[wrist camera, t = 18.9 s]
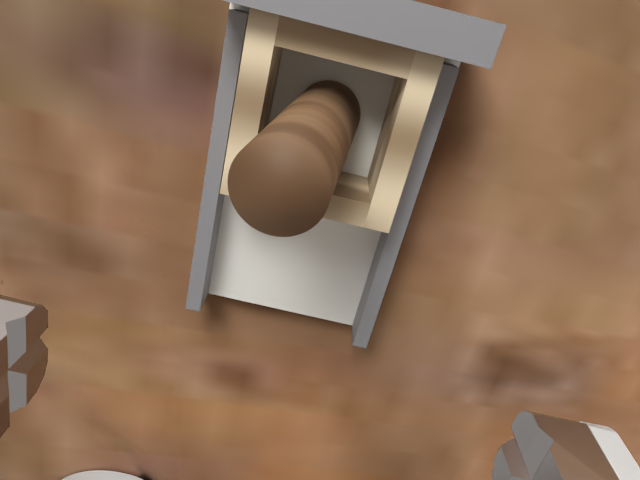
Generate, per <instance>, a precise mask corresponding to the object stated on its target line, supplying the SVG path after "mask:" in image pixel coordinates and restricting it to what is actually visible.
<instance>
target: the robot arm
mask: <svg viewBox="0 0 640 480" xmlns="http://www.w3.org/2000/svg"><path fill="white" fill-rule="evenodd" d="M47 328H48V310H47V309H46V308H45V307H44V306H43V305H40V304H36V303H32V302H28V301H24V300H19V299H15V298H11V297H7V296H3V295H0V438H1V436H2V435H3V434H4V433H5V431H6V430H7V429H8V428H9V426H10V412H13V411H15V410H17V409H19V408H21V407H24V406H26V405H27V404H28V403H29V401H30V400H31V399H32V397H33V396H34V395H35V393H36V392H37V390H38V388H39V386H40V384H41V382H42V379H43V377H44V375H45V371H46V366H47V362H48V348H47V347H46V346H45V344H44V343H43V341H42V340H41V339H40V336H41V335H42V333H43V332H44V331H45V330H46V329H47ZM511 429H512V432H513V435H514V438H513V439H511V440H510V441H508V442H506V443H504V444H503V445H501V447H500V449H499V451H498V453H497V455H496V457H495V459H494V466H493V474H492V479H493V480H640V468H639V466H638V465H637V463H636V462H635V460H634V458H633V457H632V455H631V454H630V452H629V451H628V449H627V448H626V446H625V445H624V443H623V441H622V440H621V438H620V437H619V435H618V434H617V433H616V432H615V431H614V430H612V429H611V428H610V427H608V426H603V425H597V424H592V423H587V422H582V421H580V422H577V421H572V420H568V419H563V418H558V417H553V416H549V415H544V414H539V413H535V412H530V411H525V410H523V411H522V412H521V413H520V414H518V415H517V416H516V418H515V420H514V422H513V424H512V426H511ZM62 480H143V479H141V478H138V477H136V476H133V475H129V474H125V473H121V472H115V471H105V470H94V471H85V472H80V473H76V474H73V475H70V476H68V477H65V478H63V479H62Z"/></svg>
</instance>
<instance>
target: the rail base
mask: <svg viewBox="0 0 640 480" xmlns="http://www.w3.org/2000/svg"><path fill="white" fill-rule="evenodd" d="M223 1H227V2H230V7H229V14H228V21H227V28H226V34H225V41H224V48H223V55H222V62H221V69H220V76H219V82H218V89H217V96H216V103H215V110H214V117H213V124H212V130H211V137H210V144H209V151H208V158H207V165H206V171H205V178H204V185H203V192H202V199H201V206H200V213H199V219H198V226H197V233H196V240H195V247H194V254H193V260H192V267H191V274H190V281H189V288H188V295H187V302H186V309H191V310H195V311H200V310H201V308H202V306H203V303H204V301H205V299H206V297H207V295H208V293H209V294H214V295H218V296H223V297H227V298H232V299H236V300H241V301H245V302H250V303H254V304H258V305H263V306H267V307H272V308H276V309H281V310H285V311H290V312H294V313H299V314H303V315H308V316H312V317H316V318H321V319H325V320H330V321H334V322H339V323H343V324H348V325H352V344H353V346H357V347H362V348H366V347H367V344H368V342H369V339H370V336H371V333H372V330H373V327H374V324H375V321H376V318H377V315H378V312H379V309H380V306H381V303H382V300H383V297H384V294H385V291H386V288H387V285H388V282H389V279H390V276H391V273H392V270H393V267H394V264H395V261H396V258H397V255H398V252H399V249H400V246H401V243H402V240H403V237H404V234H405V231H406V228H407V225H408V222H409V219H410V216H411V213H412V210H413V207H414V204H415V201H416V198H417V195H418V192H419V189H420V186H421V183H422V180H423V177H424V174H425V171H426V168H427V165H428V162H429V159H430V156H431V154H432V151H433V148H434V145H435V142H436V139H437V136H438V133H439V130H440V127H441V124H442V121H443V118H444V115H445V112H446V109H447V106H448V103H449V100H450V97H451V94H452V91H453V88H454V85H455V82H456V79H457V76H458V73H459V70H460V68H459V66H460V63H461V62H464V63H468V64H472V65H476V66H480V67H484V68H488V69H491V67H492V64H493V62H494V59H495V56H496V53H497V51H498V48H499V45H500V42H501V39H502V37H503V34H504V31H505V28H506V25H504V24H500V23H496V22H493V21H489V20H485V19H481V18H477V17H474V16H470V15H466V14H462V13H458V12H455V11H451V10H447V9H443V8H439V7H436V6H432V5H428V4H424V3H420V2H416V1H413V0H223ZM250 8H254V9H258V10H262V11H266V12H270V13H274V14H278V15H282V16H285V17H289V18H293V19H297V20H301V21H305V22H309V23H313V24H317V25H320V26H324V27H328V28H332V29H336V30H340V31H344V32H348V33H352V34H356V35H359V36H363V37H367V38H371V39H375V40H379V41H383V42H387V43H391V44H394V45H398V46H402V47H406V48H410V49H414V50H418V51H422V52H426V53H429V54H433V55H437V56H441V57H445V59H444V62H443V66H442V69H441V72H440V75H439V78H438V81H437V84H436V87H435V91H434V94H433V97H432V100H431V103H430V106H429V109H428V112H427V116H426V119H425V122H424V125H423V128H422V131H421V134H420V137H419V140H418V144H417V147H416V150H415V153H414V156H413V159H412V162H411V165H410V169H409V172H408V175H407V178H406V181H405V184H404V187H403V190H402V194H401V197H400V200H399V203H398V206H397V209H396V212H395V215H394V218H393V222H392V225H391V228H390V231H389V233H385V232H381V231H376V230H372V229H368V228H364V227H359V226H355V225H351V224H347V223H342V222H338V221H334V220H330V219H325V218H322V219H321V220H320V221H319V223H318V224H317V225H315V226H314V227H313V228H312V229H310V230H308V231H307V232H304V233H302V234H299V235H296V236H291V237H276V236H271V235H268V234H264V233H262V232H260V231H258V230H256V229H254V228H253V227H251V226H250V225H249V224H247V223H246V222H245V221H244V220H243V219H242V218H241V217H240V215H239V214H238V213H237V211H236V210H235V208H234V206H233V204H232V202H231V200H230V197H229V196H228V195H223V194H220V189H221V182H222V176H223V170H224V164H225V158H226V151H227V145H228V139H229V133H230V127H231V120H232V114H233V108H234V102H235V96H236V89H237V83H238V77H239V71H240V65H241V58H242V52H243V46H244V40H245V34H246V27H247V21H248V15H249V9H250ZM395 79H396V76H392V75H388V74H384V73H381V72H377V71H373V70H369V69H365V68H361V67H357V66H353V65H349V64H345V63H341V62H337V61H333V60H329V59H325V58H321V57H317V56H313V55H310V54H306V53H302V52H298V51H294V50H290V49H286V48H283V51H282V56H281V61H280V66H279V71H278V77H277V82H276V87H275V92H274V97H273V103H272V108H271V113H270V118H269V123H271V122H272V121H273V120H274V119H275V118H276V117H277V116H278V115H279V114H280V113H281V112H282V111H283V110H284V109H286V108H287V107H288V106H289V105H290V104H291V103H292V102H293V101H294V100H295V99H296V98H297V97H298V96H299V95H301V94H302V93H303V92H304V91H305V90H306V89H307V88H308V87H309V86H311V85H312V84H314V83H316V82H319V81H324V80H332V81H337V82H340V83H342V84H344V85H345V86H347V87H348V88H349V89H350V90H351V91H352V92H353V93H354V94H355V96H356V98H357V100H358V102H359V105H360V112H361V113H360V121H359V125H358V127H357V130H356V133H355V136H354V138H353V141H352V144H351V146H350V149H349V152H348V154H347V157H346V160H345V163H344V165H343V168H342V171H343V172H347V173H351V174H355V175H359V176H363V177H367V176H368V173H369V169H370V166H371V162H372V159H373V156H374V152H375V149H376V145H377V142H378V138H379V135H380V131H381V128H382V124H383V121H384V117H385V114H386V110H387V107H388V103H389V100H390V96H391V93H392V89H393V86H394V82H395ZM269 123H268V124H269Z"/></svg>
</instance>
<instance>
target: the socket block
mask: <svg viewBox="0 0 640 480" xmlns="http://www.w3.org/2000/svg"><path fill="white" fill-rule="evenodd" d="M283 48H286V49H290V50H294V51H298V52H302V53H306V54H310V55H313V56H317V57H321V58H325V59H329V60H333V61H337V62H341V63H345V64H349V65H353V66H357V67H361V68H365V69H369V70H373V71H377V72H381V73H384V74H388V75H392V76H396V79H395V82H394V86H393V89H392V93H391V96H390V100H389V103H388V107H387V110H386V114H385V117H384V121H383V124H382V128H381V131H380V135H379V138H378V142H377V145H376V149H375V152H374V156H373V159H372V162H371V166H370V169H369V173H368V176H367V177H363V176H359V175H355V174H351V173H347V172H343V171H341V173H340V176H339V179H338V182H337V184H336V187H335V190H334V192H333V195H332V198H331V200H330V203H329V206H328V208H327V211H326V213H325V215H324V216H323V218H325V219H330V220H334V221H338V222H342V223H347V224H351V225H355V226H359V227H364V228H368V229H372V230H376V231H381V232H385V233H389V231H390V228H391V225H392V222H393V218H394V215H395V212H396V209H397V206H398V203H399V200H400V197H401V194H402V190H403V187H404V184H405V181H406V178H407V175H408V172H409V169H410V165H411V162H412V159H413V156H414V153H415V150H416V147H417V144H418V140H419V137H420V134H421V131H422V128H423V125H424V122H425V119H426V116H427V112H428V109H429V106H430V103H431V100H432V97H433V94H434V91H435V87H436V84H437V81H438V78H439V75H440V72H441V69H442V66H443V62H444V59H445V57H441V56H437V55H433V54H429V53H426V52H422V51H418V50H414V49H410V48H406V47H402V46H398V45H394V44H391V43H387V42H383V41H379V40H375V39H371V38H367V37H363V36H359V35H356V34H352V33H348V32H344V31H340V30H336V29H332V28H328V27H324V26H320V25H317V24H313V23H309V22H305V21H301V20H297V19H293V18H289V17H285V16H282V15H278V14H274V13H270V12H266V11H262V10H258V9H254V8H250V9H249V15H248V21H247V27H246V34H245V40H244V46H243V52H242V58H241V65H240V71H239V77H238V83H237V89H236V96H235V102H234V108H233V114H232V120H231V127H230V133H229V139H228V145H227V151H226V158H225V164H224V170H223V176H222V182H221V189H220V194H223V195H228V196H229V192H228V184H227V181H228V173H229V169H230V166H231V164H232V162H233V160H234V158H235V157H236V155H237V154H238V153H239V152H240V151H241V150H242V149H243V148H244V147H245V146H246V145H247V144H248V143H249V142H250V141H251V140H252V139H253V138H254V137H256V136H257V135H258V134H259V133H260V132H261V131H262V130H263V129H264V128H265V127H266V126H267V125H268V123H269V118H270V113H271V108H272V103H273V97H274V92H275V87H276V82H277V77H278V71H279V66H280V61H281V56H282V51H283Z"/></svg>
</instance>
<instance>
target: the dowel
mask: <svg viewBox="0 0 640 480" xmlns="http://www.w3.org/2000/svg"><path fill="white" fill-rule="evenodd" d="M360 113H361V112H360V105H359V102H358V100H357V98H356V96H355V94H354V93H353V92H352V91H351V90H350V89H349V88H348V87H347V86H345V85H344V84H342V83H340V82H337V81H332V80H324V81H319V82H316V83H314V84H312V85H311V86H309V87H308V88H307V89H306V90H305V91H304V92H303V93H302V94H301V95H299V96H298V97H297V98H296V99H295V100H294V101H293V102H292V103H291V104H290V105H289V106H288V107H287V108H286V109H284V110H283V111H282V112H281V113H280V114H279V115H278V116H277V117H276V118H275V119H274V120H273V121H272V122H271V123H269V124H268V125H267V126H266V127H265V128H264V129H263V130H262V131H261V132H260V133H259V134H258V135H257V136H256V137H254V138H253V139H252V140H251V141H250V142H249V143H248V144H247V145H246V146H245V147H244V148H243V149H242V150H241V151H240V152H239V153H238V154H237V155H236V157H235V158H234V160H233V162H232V164H231V166H230V169H229V173H228V181H227V184H228V192H229V197H230V200H231V202H232V204H233V206H234V208H235V210H236V211H237V213H238V214H239V215H240V217H241V218H242V219H243V220H244V221H245V222H246V223H247V224H249V225H250V226H251V227H253V228H254V229H256V230H258V231H260V232H262V233H264V234H268V235H271V236H276V237H291V236H296V235H299V234H302V233H304V232H307V231H308V230H310V229H312V228H313V227H314V226H315V225H317V224H318V223H319V221H320V220H321V219H322V218H323V216H324V215H325V213H326V211H327V208H328V206H329V203H330V200H331V198H332V195H333V192H334V190H335V187H336V184H337V182H338V179H339V176H340V173H341V171H342V168H343V165H344V163H345V160H346V157H347V154H348V152H349V149H350V146H351V144H352V141H353V138H354V136H355V133H356V130H357V127H358V125H359V121H360Z"/></svg>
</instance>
